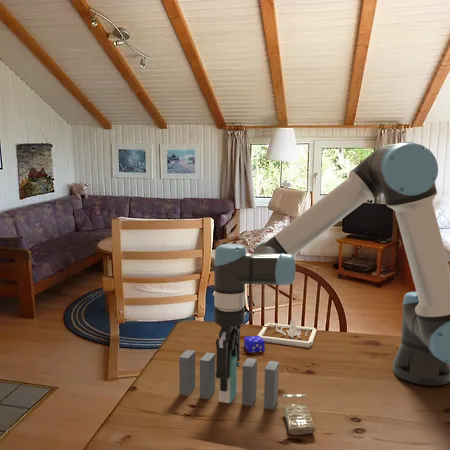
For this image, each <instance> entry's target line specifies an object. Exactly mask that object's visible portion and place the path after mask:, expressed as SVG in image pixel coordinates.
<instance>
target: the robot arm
mask: <svg viewBox="0 0 450 450" xmlns="http://www.w3.org/2000/svg"><path fill="white" fill-rule="evenodd" d="M438 173H439V165H438V161H437V159H436V157H435V155H434V153H433V152H432V151H431V150H430V149H429V148H427V147H425V146H424V145H423V144H420V143H416V142H413V141H411V142H409V141H401V142H397V143H390V144H385V145H381V146H380V147H379V148H377V149H375V150H374V151H373V152H371V154H369V155H368V156H367V157H365V159H364V160H362V161H361V162H359V164H358V165H356V166H355V167H354V168H353V169H352V170H350V171H349V173H348V177H347V178H346V179H345V180H343V181H342V182H341V183H340V184H339V185H336V187H334V189H332V190H331V191H329V192H328V193H326V195H324V196H323V197H322V198H321V199H319V200H318V201H317V202H315V203H314V204H313V205H312V206H310V207H309V208H308V209H306V210H305V211H304V212H303V213H302V214H300V215H298V216H297V217H296V218H295V219H293V220H292V221H291V222H290V223H289V224H287V225H286V226H285V227H283V228H282V229H281V230H280V231H278V232H277V233H275V234H274V235H273V236H272V237H271V238H269V239H268V240H267V241H265V242H261V243H258V245H256V246H255V248H254V250H253V252H252V253H250V252H247V249H246V247H245V245H243V244H239V243H222V244H220V245H218V246H216V247H215V251H214V264H213V267H214V269H213V270H214V275H213V276H214V280H213V281H214V282H213V283H214V287H213V288H214V291H213V293H212V296H213V297H214V298H213V299H214V300H213V301H214V303H213V304H214V308H213V322H214V324H216V325H218V326H219V327H220V330H219V331H218V332H219V333H218V339H217V338H216V340H215V345H216V347H215V348H216V355H215V379H218V389H219V390H218V402H219V403H226V404H231V403H230V386H231V377H229V373H230V362H231V356H236V357H237V368H240V367H241V362H240V360H241V357H240V356H241V354H240V353H241V349H240V348H241V327H242V325H243V324H244V323H245V312H246V311H245V310H246V309H245V308H244V307H245V305H246V290H245V289H246V285H263V286H264V285H267V286H268V285H269V286H270V285H271V286H272V285H273V286H279V287H280V286H287V285H290V286H291V285H292V284H294V282H295V280H296V259H295V257H294V256H296V255H297V254H298V253H300V252H301V251H303V250H304V249H305V248H306V247H307V246H309V245H310V244H312V243H313V242H314V241H315V240H317V239H318V238H319V237H321V236H322V235H323V234H324V233H326V232H327V231H328V230H330V229H331V228H332V227H333V226H335V225H336V224H337V223H339V222H340V221H341V220H343V219H344V218H345V217H346V216H348V215H349V214H351V213H352V212H354V210H356V209H357V208H358V207H360V206H361V205H362V204H364V203H365V202H366V201H374V200H375V199H376V198H377V197H379V196H381V195H383V198H384V201H385V204H386V206H387V207H388V208H389V209H392V210H393V211H394V212H395V213H394V214H395V217H396V221H397V224H398V228H399V232H400V236H401V239H402V243H403V246H404V251H405V254H406V258H407V261H408V265H409V269H410V273H411V276H412V281H413V284H414V287H415V291H410V292H406V293H405V294H404V296H403V302H402V314H401V315H402V317H401V319H402V320H401V337H400V345H399V347H398V350H397V352H396V355H395V356H394V359H393V362H392V372H393V373H394V374H395V375H396V376H397V377H398V378H399V379H402V380H403V381H406V382H409V383H413V384H416V385H421V386H432V387H434V386H443V385H444V386H445V385H446V384H448V383H450V264H449V261H448V257H447V254H446V253H447V252H446V249H445V245H444V242H443V238H442V234H441V230H440V226H439V222H438V219H437V215H436V210H435V207H434V204H433V201H434V199H435V197H436V196H437V194H438V191H437V187H436V180H437V178H438V176H439V174H438ZM237 386H238V381H236V393H238V392H237V389H238V387H237Z"/></svg>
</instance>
